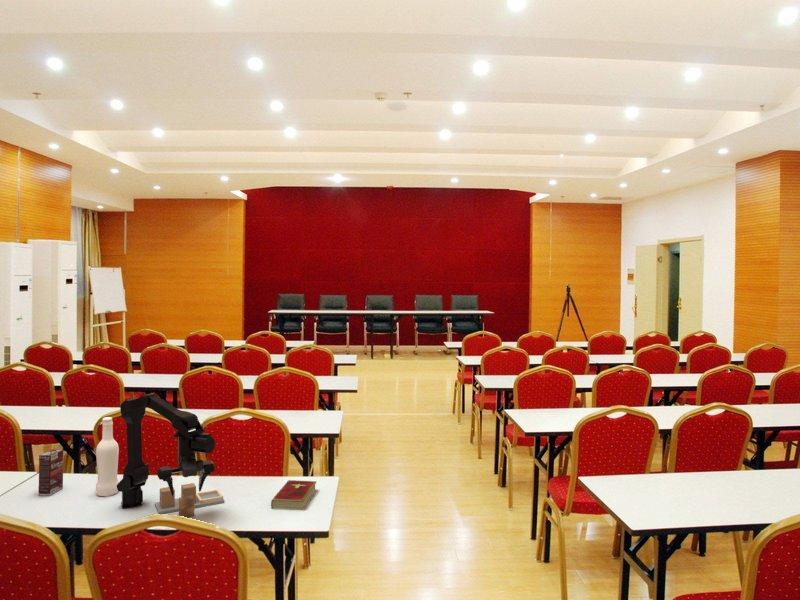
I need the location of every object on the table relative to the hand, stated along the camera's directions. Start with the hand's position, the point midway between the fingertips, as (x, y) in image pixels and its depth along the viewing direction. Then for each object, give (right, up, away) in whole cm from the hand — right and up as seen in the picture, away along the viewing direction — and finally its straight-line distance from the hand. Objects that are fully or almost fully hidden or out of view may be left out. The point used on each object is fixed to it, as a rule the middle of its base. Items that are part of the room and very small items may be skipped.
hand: (186, 493), depth 199 cm
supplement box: (-61, -7, +20) cm, 65 cm away
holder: (-3, -8, +10) cm, 13 cm away
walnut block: (0, -8, 0) cm, 8 cm away
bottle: (-39, -7, +20) cm, 44 cm away
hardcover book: (+36, -9, +17) cm, 40 cm away
